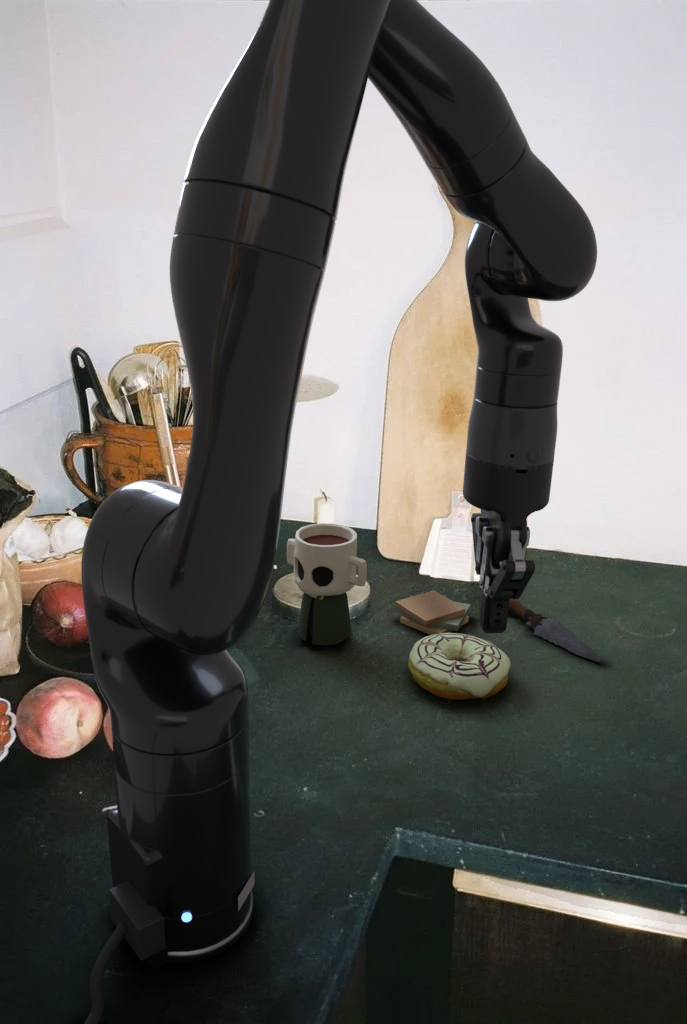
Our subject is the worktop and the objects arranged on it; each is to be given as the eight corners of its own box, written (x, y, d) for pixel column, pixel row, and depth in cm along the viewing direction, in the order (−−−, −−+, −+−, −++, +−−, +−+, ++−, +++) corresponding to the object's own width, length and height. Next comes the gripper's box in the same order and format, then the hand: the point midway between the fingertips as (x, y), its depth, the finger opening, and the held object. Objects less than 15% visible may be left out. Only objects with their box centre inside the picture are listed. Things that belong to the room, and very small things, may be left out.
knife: (487, 594, 117) (521, 578, 118) (489, 608, 118) (522, 592, 119) (566, 670, 103) (604, 651, 105) (568, 684, 105) (605, 665, 106)
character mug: (269, 634, 110) (268, 532, 105) (305, 612, 115) (306, 514, 111) (345, 663, 104) (348, 556, 100) (379, 638, 110) (384, 535, 105)
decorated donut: (496, 716, 95) (499, 684, 94) (395, 694, 98) (397, 663, 97) (515, 667, 104) (518, 637, 103) (422, 648, 108) (424, 619, 106)
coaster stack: (442, 646, 108) (443, 627, 108) (386, 623, 113) (387, 605, 113) (483, 621, 114) (485, 603, 114) (429, 600, 119) (430, 583, 119)
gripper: (450, 429, 86) (437, 599, 92) (486, 473, 74) (469, 666, 80) (529, 429, 87) (512, 597, 93) (578, 473, 75) (554, 664, 81)
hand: (492, 629), depth 87 cm, fingers closed
